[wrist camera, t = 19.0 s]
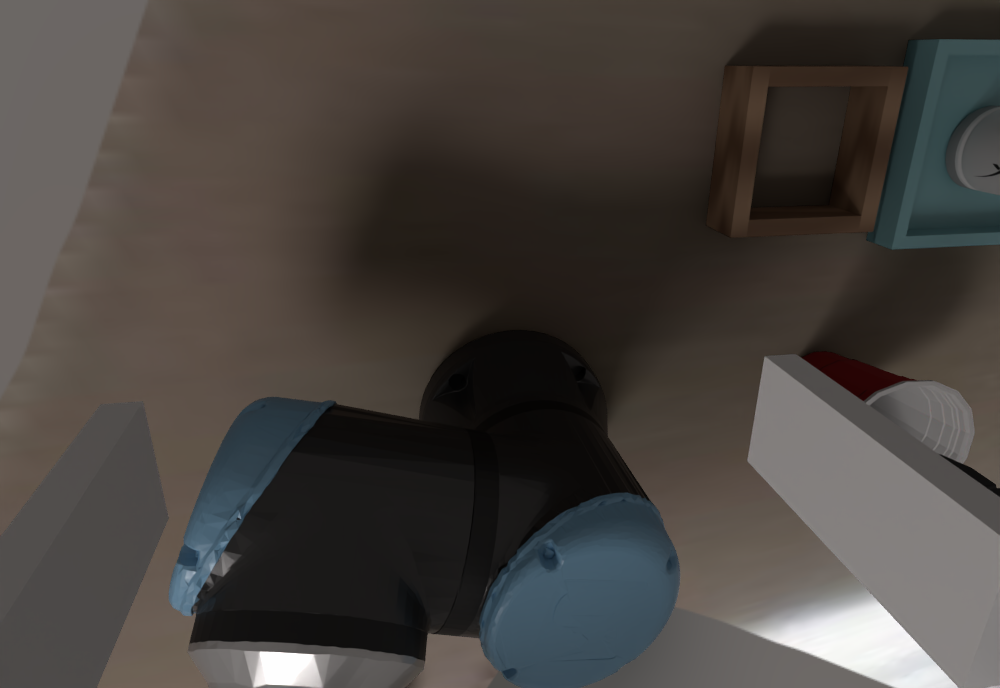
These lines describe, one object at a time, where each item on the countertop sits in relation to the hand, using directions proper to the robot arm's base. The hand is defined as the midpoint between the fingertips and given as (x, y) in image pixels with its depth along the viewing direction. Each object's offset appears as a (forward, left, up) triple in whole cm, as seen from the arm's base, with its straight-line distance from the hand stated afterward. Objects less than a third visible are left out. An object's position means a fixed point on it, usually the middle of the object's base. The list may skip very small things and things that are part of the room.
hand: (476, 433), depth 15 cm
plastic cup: (-19, -35, -37) cm, 54 cm away
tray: (+1, -45, -37) cm, 58 cm away
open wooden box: (+1, -29, -37) cm, 47 cm away
